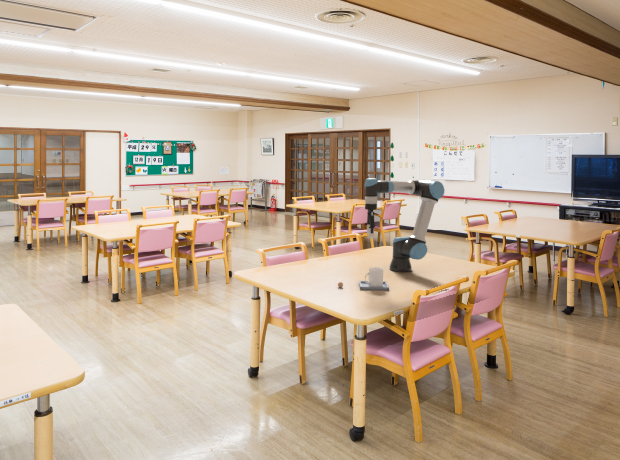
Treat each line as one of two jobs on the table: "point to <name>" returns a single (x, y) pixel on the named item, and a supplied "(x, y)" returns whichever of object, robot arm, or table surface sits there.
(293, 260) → the table surface
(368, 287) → the tray
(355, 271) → the table surface
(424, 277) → the table surface
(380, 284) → the mug
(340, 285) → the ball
